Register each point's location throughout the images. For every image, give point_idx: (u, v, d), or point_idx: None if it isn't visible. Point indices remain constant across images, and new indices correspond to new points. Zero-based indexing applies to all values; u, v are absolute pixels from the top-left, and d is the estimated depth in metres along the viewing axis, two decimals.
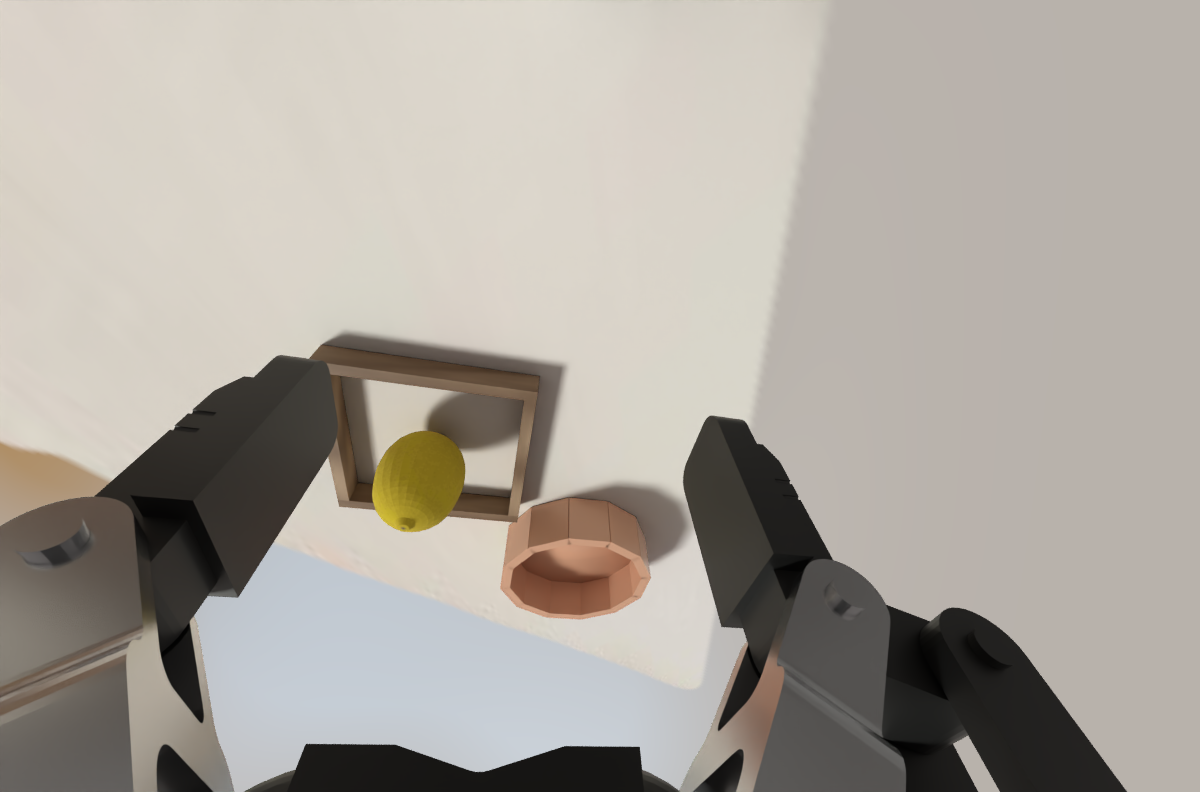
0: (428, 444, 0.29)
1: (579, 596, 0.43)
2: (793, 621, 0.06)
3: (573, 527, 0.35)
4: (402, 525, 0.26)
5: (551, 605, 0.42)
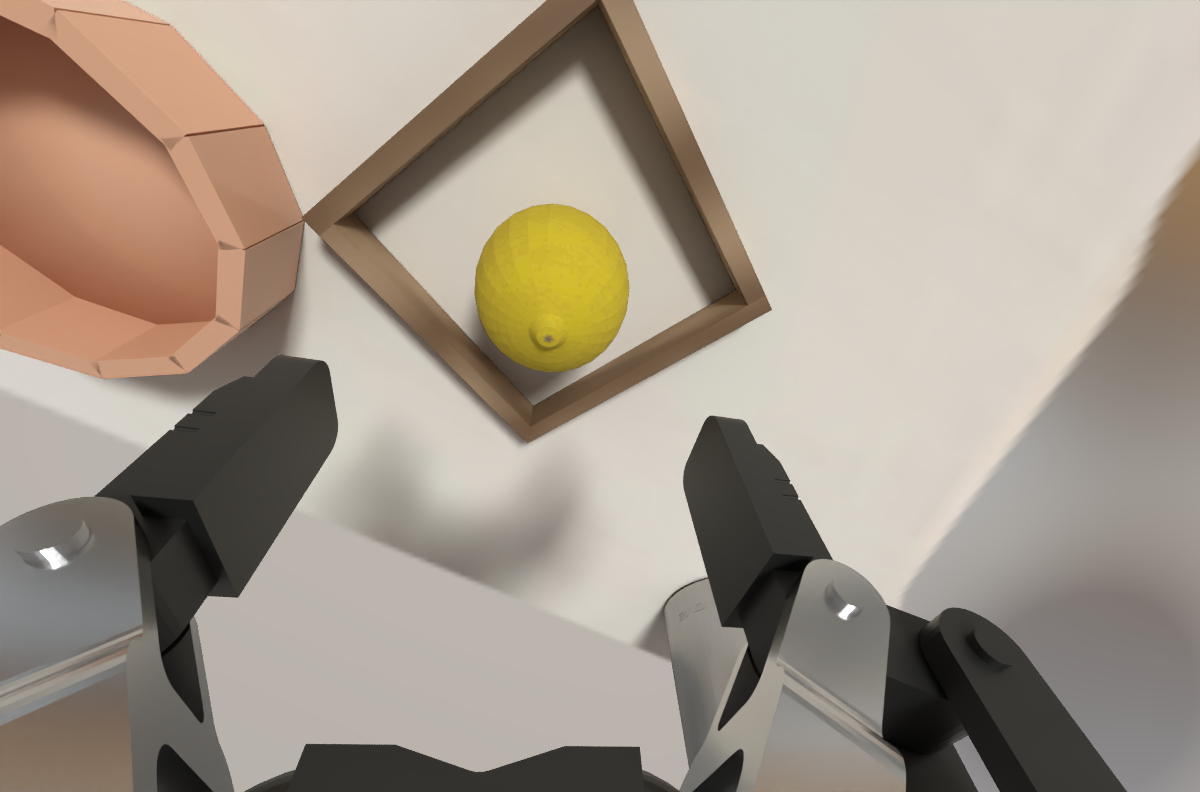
0: None
1: None
2: (793, 621, 0.06)
3: (249, 323, 0.18)
4: (555, 343, 0.13)
5: None
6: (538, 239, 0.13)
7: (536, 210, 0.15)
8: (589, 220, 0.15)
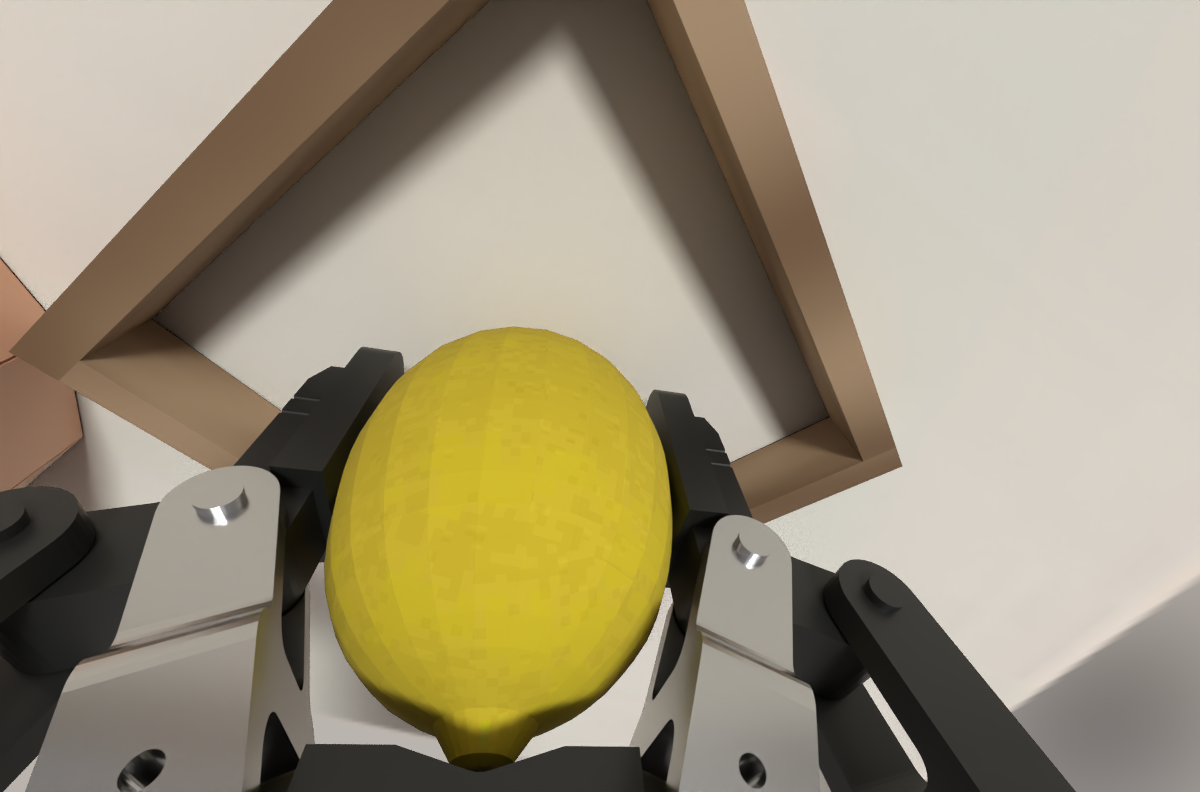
0: None
1: None
2: (707, 582, 0.06)
3: None
4: None
5: None
6: (454, 493, 0.05)
7: (465, 371, 0.06)
8: (587, 389, 0.07)
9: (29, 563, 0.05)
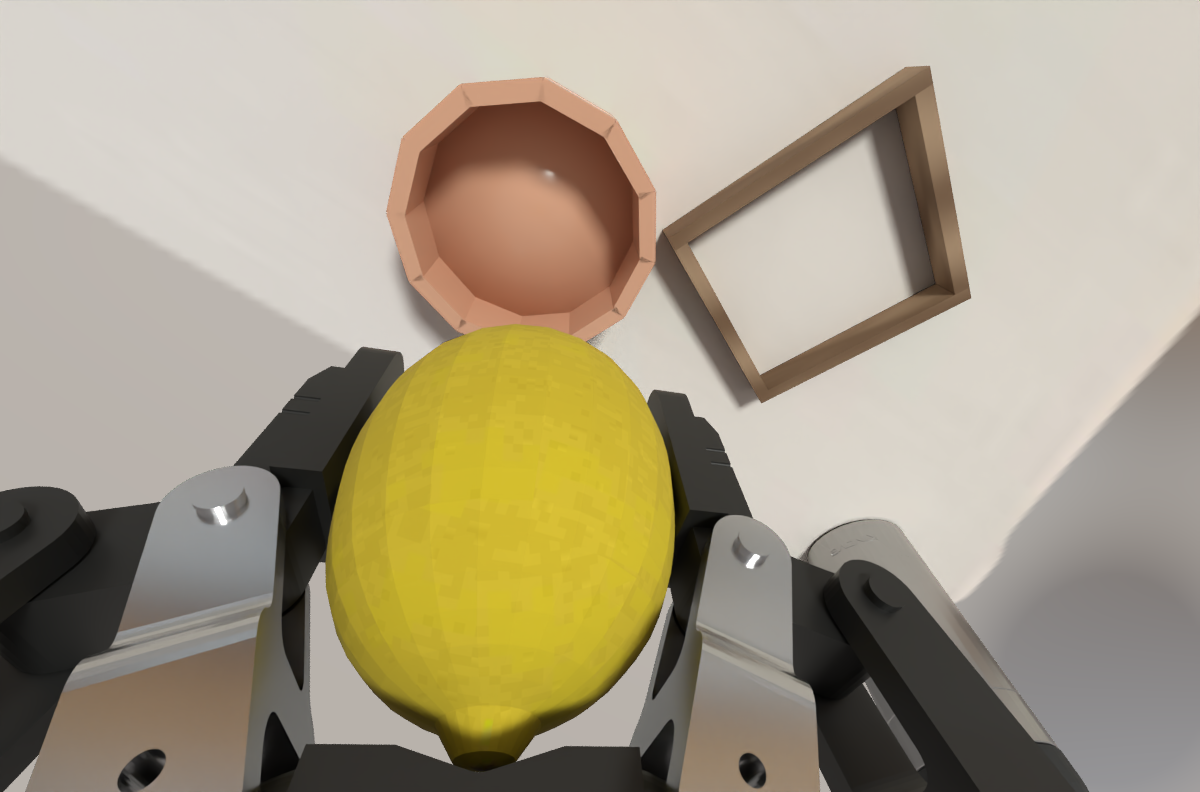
0: None
1: (431, 144, 0.21)
2: (708, 582, 0.06)
3: None
4: None
5: (470, 108, 0.19)
6: (456, 489, 0.05)
7: (467, 368, 0.06)
8: (590, 386, 0.07)
9: (30, 563, 0.05)
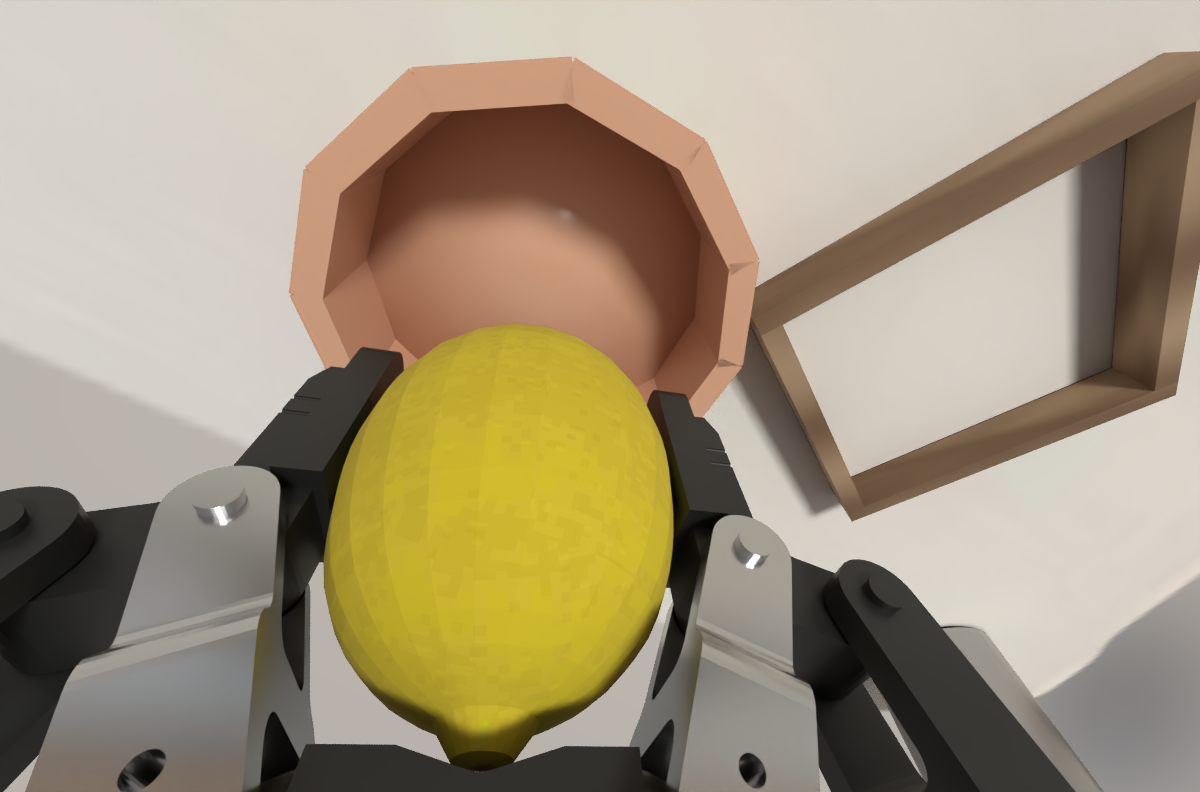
0: None
1: (369, 175, 0.12)
2: (707, 582, 0.06)
3: None
4: None
5: (434, 114, 0.10)
6: (454, 489, 0.05)
7: (465, 368, 0.06)
8: (588, 385, 0.07)
9: (29, 563, 0.05)
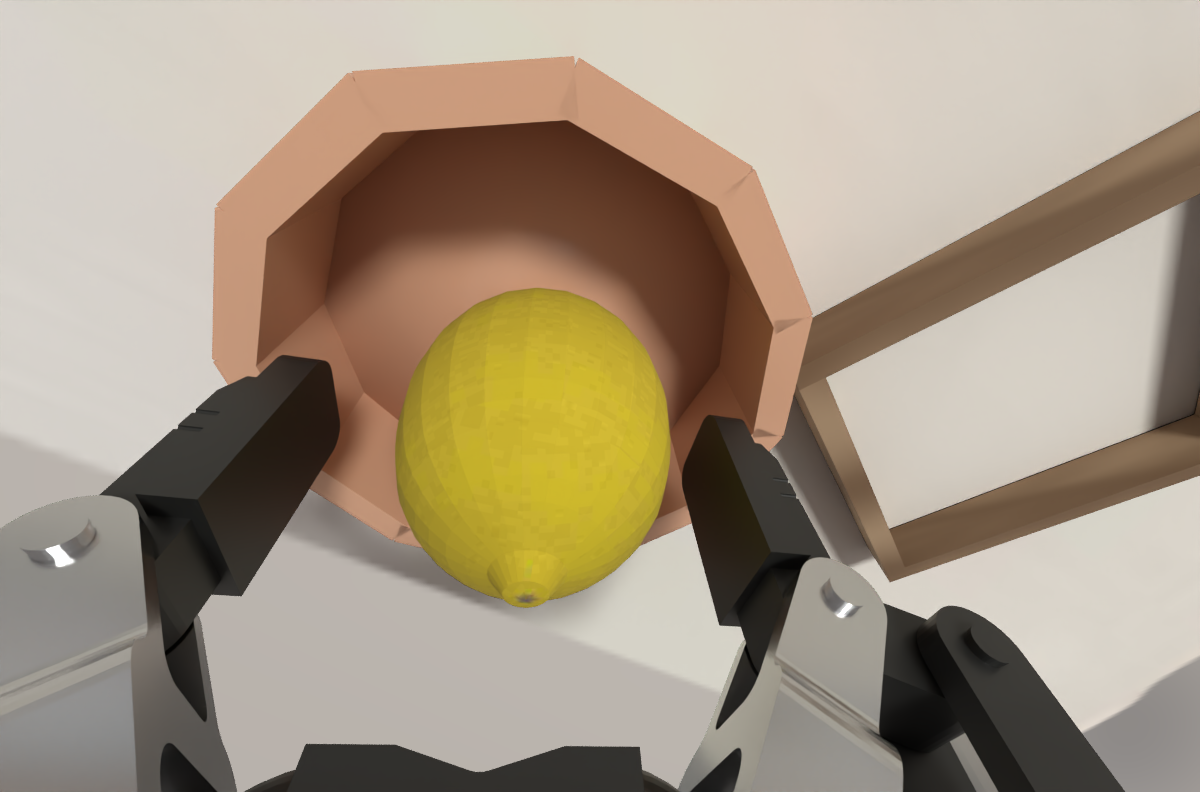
0: None
1: (316, 208, 0.09)
2: (790, 619, 0.06)
3: None
4: (539, 602, 0.07)
5: (390, 133, 0.08)
6: (504, 392, 0.07)
7: (504, 313, 0.08)
8: (602, 328, 0.08)
9: None
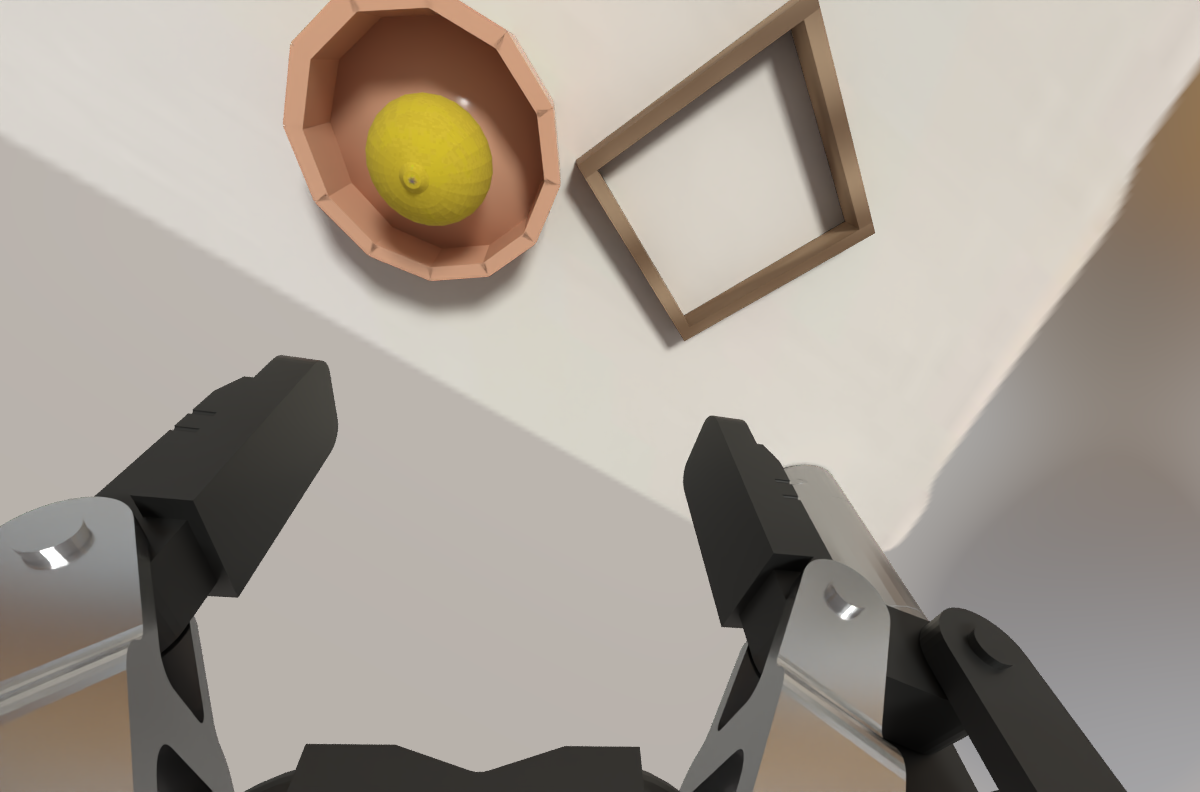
0: None
1: (328, 57, 0.21)
2: (793, 621, 0.06)
3: None
4: (417, 185, 0.18)
5: (360, 15, 0.19)
6: (403, 108, 0.18)
7: (409, 94, 0.20)
8: (450, 102, 0.20)
9: None
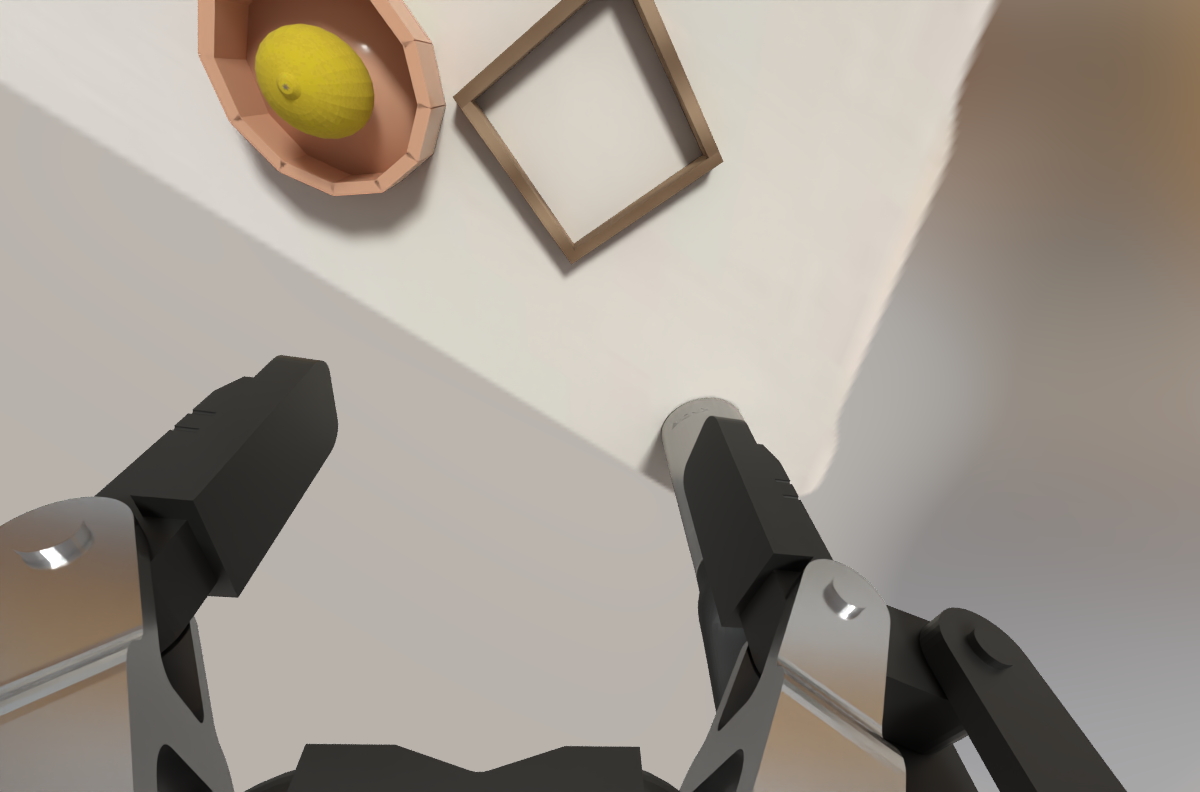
0: (355, 132, 0.28)
1: (235, 0, 0.26)
2: (793, 621, 0.06)
3: (418, 163, 0.31)
4: (290, 91, 0.23)
5: None
6: (281, 31, 0.23)
7: None
8: (326, 32, 0.25)
9: None
